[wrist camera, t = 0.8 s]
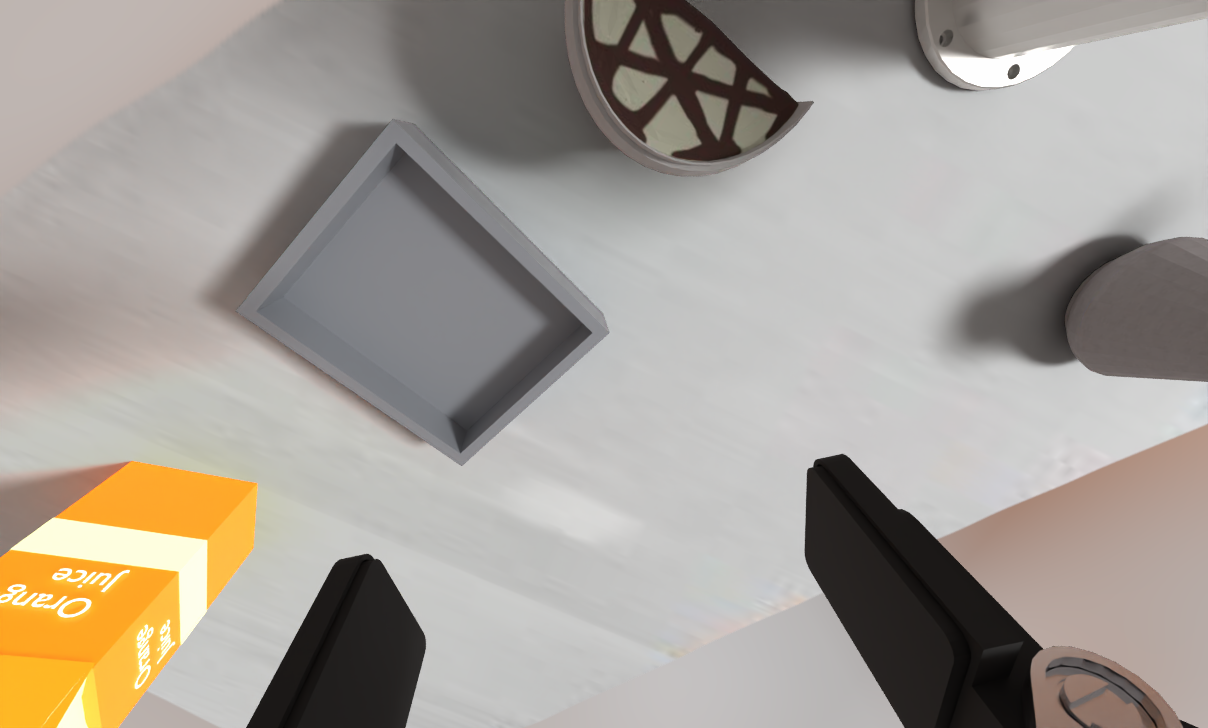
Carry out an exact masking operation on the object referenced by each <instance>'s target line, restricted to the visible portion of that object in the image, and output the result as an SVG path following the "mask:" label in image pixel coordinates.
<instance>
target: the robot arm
mask: <svg viewBox="0 0 1208 728" xmlns="http://www.w3.org/2000/svg"><path fill="white" fill-rule="evenodd" d="M1206 18H1208V0H915V20H916V26H917V32H918V38H919V41H920V43H921V46H922V49H923V51H924V54H925V56H926V58H927V59H928V61H929V62H930V64H931V65H932V67H933V68H934V70H935V71H936V72H937V73H938V74H940V75H941V76H942V77H943V78H944V79H945V80H946V81H948V82H950V83H952V84H954V85H956V86H958V87H960V88H965V89H971V90H977V91H978V90H990V89H998V88H1004V87H1010V86H1014V85H1016V84H1019V83H1021V82H1024V81H1026V80H1029V79H1031V78H1033V77H1035V76H1036V75H1038V74H1040V73H1041V72H1043V71H1044V70H1046V69H1048V68H1049V67H1051V66H1052V65H1053V64H1055V63H1056V62H1057V61H1058V60H1059V59H1061V58H1062V57H1063V56H1064V55H1065V54H1067V53H1068V52H1069V51H1070V50H1071V49H1072V48H1073V47H1074V46H1075V45H1079V44H1084V43H1089V42H1094V41H1099V40H1104V39H1109V38H1113V37H1118V36H1123V35H1128V34H1133V33H1138V32H1143V31H1147V30H1152V29H1157V28H1162V27H1167V26H1172V25H1177V24H1182V23H1186V22H1191V21H1196V20H1201V19H1206ZM805 558H806V562H807V565H808V567H809V569H810V571H811V573H812V574H813V576H814V578H815V579H816V581H817V583H818V584H819V586H820V588H821V589H822V591H823V593H824V594H825V596H826V598H827V599H828V601H829V602H830V604H831V606H832V607H833V609H834V611H835V612H836V614H837V616H838V618H839V619H840V621H841V623H842V624H843V626H844V627H845V629H846V631H847V633H848V634H849V636H850V638H851V639H852V641H853V643H854V644H855V646H856V647H857V649H858V651H859V652H860V654H861V656H862V657H863V659H864V661H865V662H866V664H867V666H868V667H869V669H870V671H871V672H872V674H873V676H874V677H875V679H876V681H877V682H878V684H879V686H880V687H881V689H882V691H883V692H884V694H885V696H886V697H887V699H888V701H889V702H890V704H891V706H892V707H893V709H894V711H895V712H896V714H897V716H898V717H899V719H900V721H901V722H902V724H903V725H904V727H905V728H1198V727H1195V726H1193V725H1191V724H1188V723H1186V722H1184V721H1181V720H1179V719H1178V717H1177V715H1176V713H1175V712H1174V711H1173V709H1172V708H1171V707H1170V706H1169V705H1168V704H1167V702H1166V701H1165V700H1164V699H1163V698H1162V697H1161V696H1160V695H1159V693H1158V692H1156V691H1155V690H1154V689H1153V688H1152V687H1150V686H1149V685H1148V684H1147V683H1146V682H1144V681H1143V680H1142V679H1141V678H1140V677H1138V676H1137V675H1135V674H1134V673H1132V672H1130V671H1129V670H1127V669H1125V668H1124V667H1122V666H1121V665H1119V664H1117V663H1116V662H1114V661H1112V660H1109V659H1107V658H1105V657H1102V656H1100V655H1098V654H1096V653H1093V652H1090V651H1086V650H1082V649H1078V648H1074V647H1065V646H1052V647H1049V648H1046V649H1043V648H1042V647H1041V646H1040V645H1039V644H1038V643H1037V642H1036V641H1035V640H1034V639H1033V638H1032V637H1031V636H1030V635H1029V634H1028V633H1027V632H1026V631H1025V630H1024V629H1023V628H1022V627H1021V626H1020V625H1019V624H1018V623H1017V622H1016V621H1015V620H1014V619H1013V617H1012V616H1011V615H1010V614H1009V613H1008V612H1007V611H1006V610H1005V609H1004V608H1003V607H1002V606H1001V605H1000V604H999V603H998V602H997V601H996V600H995V599H994V598H993V597H992V596H991V595H990V594H989V593H988V592H987V591H986V590H985V589H984V588H983V587H982V586H981V585H980V584H979V583H978V582H977V581H976V580H975V578H974V577H973V576H972V575H970V573H969V572H968V571H967V570H966V569H965V568H964V567H963V566H962V565H961V564H960V563H959V562H958V561H957V560H956V559H955V558H954V557H953V556H952V555H951V554H950V553H949V552H948V551H947V550H946V549H945V548H944V547H943V546H942V545H941V544H940V543H939V541H938V540H937V539H936V538H935V537H934V536H933V535H932V534H931V533H930V532H929V531H928V530H927V529H926V528H925V527H924V526H923V525H922V524H921V523H920V522H919V521H918V520H917V519H916V518H915V517H914V516H913V515H911V514H910V513H909V512H907V511H905V510H903V509H897V508H896V507H895V506H894V505H893V504H892V502H891V501H890V500H889V499H888V498H887V497H886V496H885V495H884V494H883V493H882V492H881V491H880V490H879V489H878V488H877V487H876V486H875V485H874V483H873V482H872V481H871V480H870V479H869V478H868V477H867V476H866V475H865V474H864V473H863V472H862V471H861V470H860V469H859V468H858V467H857V466H856V465H855V463H854V462H853V461H852V460H851V459H850V458H849V457H847V456H846V455H844V454H840V455H835V456H831V457H826V458H821V459H817V460H815V462H814V466H813V467H812V468H809V469H808V470H807V492H806V525H805ZM425 649H426V639H425V635H424V633H423V631H422V629H421V628H420V626H419V624H418V623H417V621H416V619H415V618H414V616H413V614H412V612H411V611H410V609H409V607H408V606H407V604H406V602H405V601H404V599H403V597H402V596H401V594H400V592H399V591H398V589H397V587H396V585H395V584H394V582H393V580H392V579H391V577H390V575H389V574H388V572H387V570H386V569H385V567H384V565H383V564H382V562H381V561H380V560H379V559H374V558H373V557H372V556H371V555H369V554H364V555H359V556H354V557H350V558H345V559H340V560H338V561H337V562H336V563H335V564H334V566H333V567H332V569H331V571H330V573H329V575H328V577H327V578H326V580H325V582H324V584H323V586H322V588H321V590H320V591H319V593H318V595H317V597H316V599H315V601H314V603H313V604H312V606H311V608H310V610H309V612H308V614H307V616H306V617H305V619H304V621H303V623H302V625H301V627H300V629H299V631H298V632H297V634H296V636H295V638H294V640H293V642H292V644H291V645H290V647H289V649H288V651H287V653H286V655H285V657H284V658H283V660H282V662H281V664H280V666H279V668H278V670H277V671H276V673H275V675H274V677H273V679H272V681H271V683H270V684H269V686H268V688H267V690H266V692H265V694H264V696H263V697H262V699H261V701H260V703H259V705H258V707H257V709H256V711H255V712H254V714H253V716H252V718H251V720H250V722H249V724H248V725H247V727H246V728H405V727H406V723H407V719H408V715H409V711H410V708H411V704H412V700H413V696H414V692H415V689H416V685H417V681H418V677H419V673H420V670H421V666H422V662H423V658H424V654H425Z"/></svg>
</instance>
